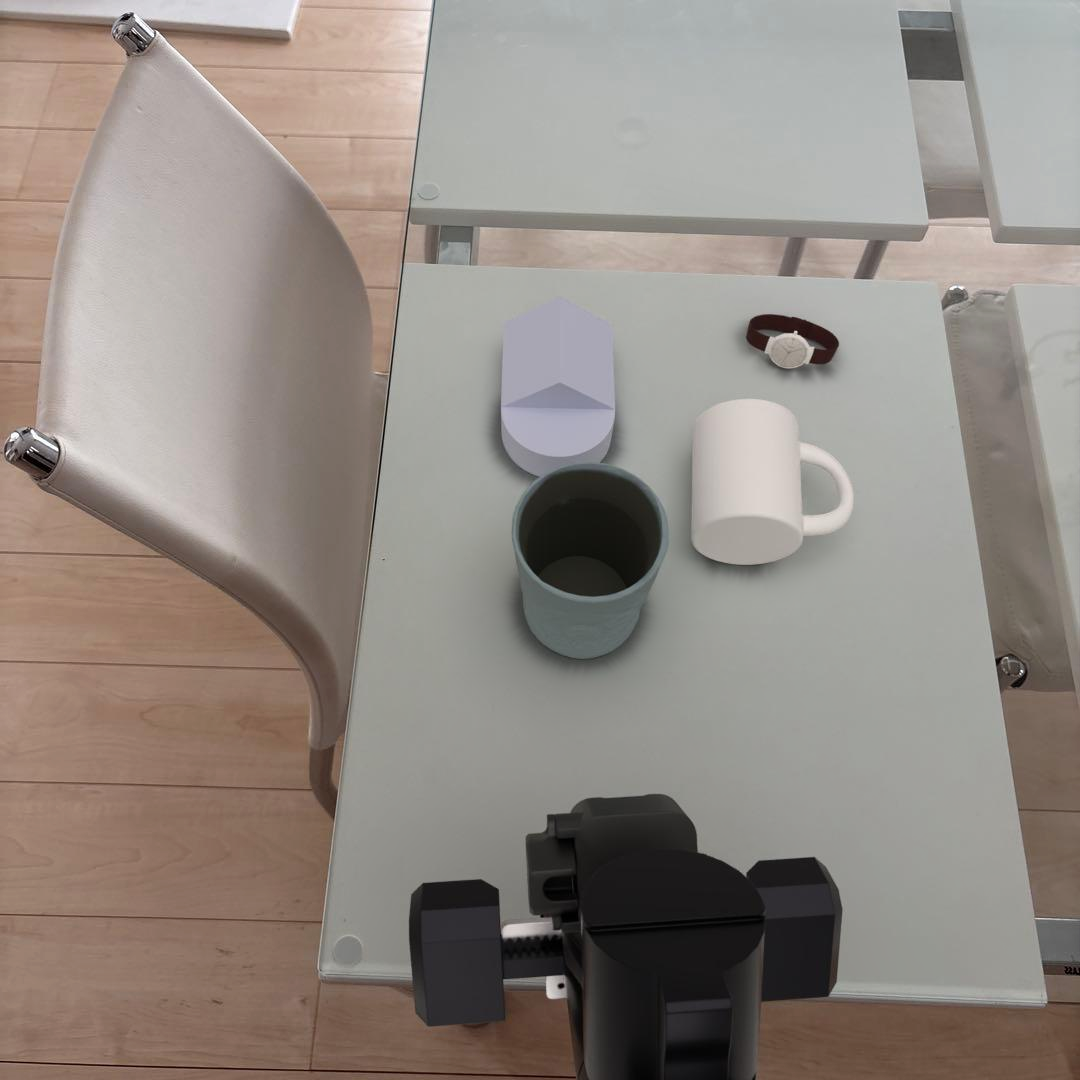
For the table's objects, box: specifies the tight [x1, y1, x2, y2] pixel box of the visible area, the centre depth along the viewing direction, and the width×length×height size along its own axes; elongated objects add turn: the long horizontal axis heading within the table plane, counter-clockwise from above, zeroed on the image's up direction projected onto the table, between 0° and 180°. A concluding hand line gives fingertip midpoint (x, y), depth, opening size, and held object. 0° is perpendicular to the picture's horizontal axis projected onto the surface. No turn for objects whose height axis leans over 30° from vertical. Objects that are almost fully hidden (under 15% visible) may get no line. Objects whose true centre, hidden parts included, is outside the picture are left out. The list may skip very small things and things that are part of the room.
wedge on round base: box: [500, 295, 616, 478], centre depth 76 cm, size 9×7×13 cm
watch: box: [745, 313, 840, 369], centre depth 81 cm, size 8×5×4 cm, turn 73°
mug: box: [690, 398, 855, 566], centre depth 72 cm, size 12×10×8 cm
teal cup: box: [511, 462, 670, 660], centre depth 66 cm, size 10×10×12 cm
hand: (600, 830), depth 50 cm, fingers closed
